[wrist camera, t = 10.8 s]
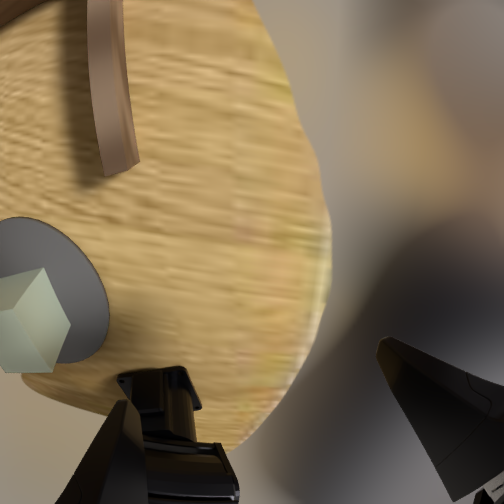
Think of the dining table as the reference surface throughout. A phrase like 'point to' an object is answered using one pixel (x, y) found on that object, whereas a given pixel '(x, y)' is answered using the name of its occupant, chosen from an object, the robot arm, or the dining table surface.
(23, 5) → the bay
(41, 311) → the block
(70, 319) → the coaster
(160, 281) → the dining table surface
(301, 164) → the dining table surface
